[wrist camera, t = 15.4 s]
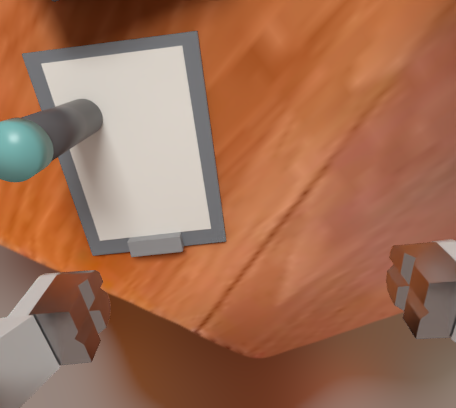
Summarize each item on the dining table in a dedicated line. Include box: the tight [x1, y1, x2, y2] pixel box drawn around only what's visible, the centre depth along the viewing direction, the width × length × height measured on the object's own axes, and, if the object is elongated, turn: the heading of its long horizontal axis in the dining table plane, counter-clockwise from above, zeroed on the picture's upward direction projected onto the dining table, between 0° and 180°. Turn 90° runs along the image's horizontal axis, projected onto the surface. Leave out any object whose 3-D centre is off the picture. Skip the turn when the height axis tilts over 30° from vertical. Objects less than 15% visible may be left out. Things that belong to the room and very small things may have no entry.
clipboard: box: [22, 31, 226, 257], centre depth 33 cm, size 22×16×2 cm
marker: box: [0, 99, 103, 182], centre depth 26 cm, size 4×4×13 cm
